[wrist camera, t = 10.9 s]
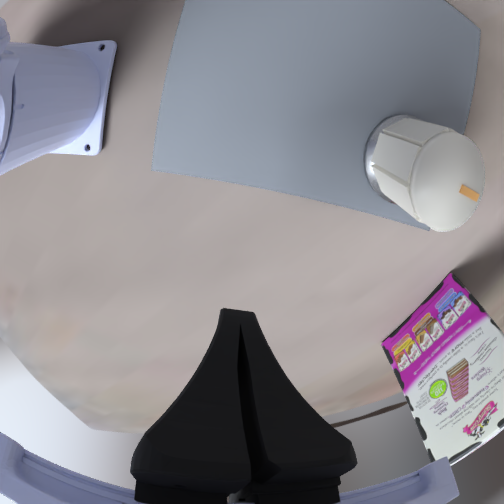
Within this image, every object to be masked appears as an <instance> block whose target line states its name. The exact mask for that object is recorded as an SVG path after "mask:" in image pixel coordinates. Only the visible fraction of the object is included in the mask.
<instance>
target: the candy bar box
mask: <svg viewBox="0 0 504 504" xmlns="http://www.w3.org/2000/svg"><path fill="white" fill-rule="evenodd" d="M381 345H382V348H383V349H384V352H385V354H386V356H387V358H388V360H389V362H390V364H391V367H392V369H393V371H394V373H395V375H396V377H397V380H398V382H399V384H400V386H401V388H402V391H403V393H404V395H405V397H406V400H407V402H408V404H409V406H410V409H411V412H412V414H413V416H414V419H415V421H416V424H417V426H418V429H419V432H420V434H421V437H422V439H423V442H424V444H425V447H426V449H427V452H428V455H429V458H430V461H431V463H432V462H434V461H436V460H439V459H441V458H443V457H445V456H446V457H448V460H449V463H450V466H451V465H453V464H454V463H456V462H457V461H459V460H461V459H463V458H464V457H466V456H467V455H469V454H470V453H472V452H474V451H475V450H476V449H478V448H479V447H481V446H482V445H484V444H485V443H486V442H488V441H489V440H490V439H492V438H493V437H494V436H496V435H497V434H498V433H499V432H501V431H502V430H503V429H504V334H503V332H502V331H501V330H500V328H499V327H498V326H497V325H496V323H495V322H494V321H493V319H492V318H491V317H490V316H489V314H488V313H487V312H486V311H485V310H484V308H483V307H482V306H481V305H480V304H479V302H478V301H477V300H476V299H475V298H474V297H473V295H472V294H471V293H470V292H469V291H468V290H467V289H466V287H465V286H464V285H463V284H462V283H461V282H460V281H459V279H458V278H457V277H456V276H455V275H454V274H452V273H450V274H448V275H447V277H446V278H445V279H444V280H443V281H442V282H441V283H440V285H439V286H438V287H437V288H436V289H435V290H434V291H433V292H432V294H431V295H430V296H429V297H428V298H427V299H426V300H425V301H424V302H423V303H422V304H421V305H420V306H419V308H418V309H417V310H416V311H415V312H414V313H413V314H412V315H411V316H410V317H409V318H408V319H407V320H406V321H405V322H404V323H403V324H402V325H401V326H400V327H399V328H398V329H397V330H396V331H395V332H393V333H392V334H391V335H390V336H389V337H388V338H387V339H386V340H385V341H384V342H383V343H382V344H381Z"/></svg>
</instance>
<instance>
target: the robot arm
mask: <svg viewBox="0 0 504 504" xmlns="http://www.w3.org/2000/svg"><path fill="white" fill-rule="evenodd" d="M9 41H10V34H9V32H8V31H7V25H6V22H5V20H4V19H2V18H1V17H0V175H2V174H4V173H6V172H8V171H10V170H12V169H14V168H16V167H18V166H20V165H22V164H24V163H26V162H29V161H31V160H33V159H35V158H37V157H40V156H42V155H44V154H47V153H62V154H81V155H97V154H98V153H100V151H101V149H102V139H103V128H104V119H105V111H106V103H107V96H108V90H109V84H110V78H111V73H112V67H113V63H114V58H115V53H116V49H117V44H116V42H115V41H112V40H105V41H94V42H85V43H78V44H71V45H65V46H59V47H54V46H47V45H39V44H30V43H19V42H9ZM103 45H105V48H104V50H102V51H101V47H102V46H103ZM88 144H89V145H90V151H89V150H88V149H87V145H88ZM356 465H357V458H356V454H355V451H354V448H353V446H352V443H351V441H350V440H349V439H347V438H346V437H345V436H343V435H342V434H341V433H339V432H338V431H337V430H335V429H334V428H333V427H332V426H331V425H330V424H328V423H327V422H326V421H325V420H324V419H323V418H322V417H321V416H320V415H319V414H318V413H317V412H316V411H315V410H314V409H313V408H312V407H311V406H310V405H309V404H308V403H307V401H306V400H305V399H304V398H303V397H302V396H301V394H300V393H299V392H298V391H297V390H296V388H295V387H294V386H293V384H292V383H291V381H290V380H289V379H288V377H287V376H286V374H285V373H284V371H283V370H282V368H281V366H280V365H279V363H278V362H277V360H276V358H275V356H274V354H273V353H272V351H271V349H270V347H269V345H268V343H267V341H266V339H265V337H264V335H263V333H262V330H261V328H260V326H259V323H258V321H257V318H256V315H255V314H254V312H249V311H241V310H234V309H227V308H223V309H221V310H220V315H219V321H218V326H217V329H216V332H215V334H214V337H213V339H212V341H211V344H210V346H209V348H208V350H207V352H206V354H205V356H204V358H203V360H202V361H201V363H200V365H199V367H198V368H197V370H196V372H195V373H194V375H193V376H192V378H191V379H190V381H189V382H188V384H187V385H186V387H185V388H184V389H183V391H182V392H181V393H180V395H179V396H178V397H177V399H176V400H175V401H174V402H173V403H172V405H171V406H170V407H169V408H168V409H167V410H166V412H165V413H164V414H163V415H162V416H161V417H160V418H159V419H158V420H157V421H156V422H155V423H154V424H153V425H152V426H151V427H150V428H149V429H148V430H147V431H146V432H145V434H144V436H143V437H142V439H141V441H140V442H139V444H138V446H137V448H136V449H135V451H134V454H133V457H132V461H131V469H130V472H131V474H132V475H133V477H134V478H135V479H136V487H135V490H131V489H127V488H123V487H120V486H116V485H112V484H109V483H105V482H102V481H99V480H96V479H93V478H90V477H87V476H84V475H81V474H79V473H76V472H74V471H71V470H68V469H66V468H64V467H61V466H59V465H57V464H54V463H52V462H50V461H47V460H45V459H43V458H41V457H39V456H37V455H35V454H33V453H31V452H29V451H27V450H25V449H24V448H23V447H22V446H21V445H20V444H19V443H17V442H16V441H14V440H12V439H11V438H9V437H8V436H6V435H5V434H3V433H1V432H0V493H1V494H3V495H4V496H6V497H7V498H9V499H10V500H12V501H13V502H15V503H16V504H446V503H448V502H449V501H451V500H452V499H454V498H456V497H457V496H459V491H458V488H457V485H456V482H455V478H454V475H453V472H452V469H451V466H450V463H449V460H448V457H446V456H445V457H443V458H441V459H439V460H436V461H434V462H432V463H430V464H428V465H426V466H424V467H422V468H421V469H419V470H418V471H416V472H413V473H410V474H408V475H405V476H402V477H399V478H396V479H393V480H390V481H386V482H383V483H380V484H377V485H373V486H369V487H365V488H361V489H357V490H353V491H349V492H344V493H339V491H338V485H340V484H341V481H340V476H341V475H343V474H345V473H347V472H348V471H350V470H352V469H353V468H354V467H355V466H356ZM228 496H229V503H227V497H228Z"/></svg>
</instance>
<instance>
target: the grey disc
mask: <svg viewBox="0 0 504 504" xmlns="http://www.w3.org/2000/svg"><path fill="white" fill-rule="evenodd" d="M404 118H408V119H409V118H411V119H416V120H420V121H423V120H421V119H420V118H417V117H415V116H411V115H406V114H397V115H392V116H390V117H387V118H385V119H384V120H382V121H381V122H380V123H379V124H377V126H376V127H375V128H374V129H373V130H372V132H371V133H370V135H369V137H368V139H367V142H366V145H365V149H364V156H363V164H364V171H365V175H366V178H367V180H368V182H369V184H370V186H371V187H372V189H373V190H374V191H375V192H376V193H377V194H378V195H379V196H380V197H381V198H383V199H384V200H386V201H387V202H390V203H392V204H396V203H395V202H394V201H392V200H391V199H390V198H388V197H387V196H386V195H384V193H383V192H381V189H380V187H379V184H378V182H377V179H376V177H375V174H374V172H373V169H372V167H371V166H372V165H373V164H375V163H373V162H371V159H372V156H373V153H374V150H375V147H376V144H377V141H378V137H379V134H380V133H382V134H384V132H383V129H384V128H386V127H388V126H390V125H392V124H394V123H396V122H398V121H400V120H402V119H404ZM396 205H397V204H396Z"/></svg>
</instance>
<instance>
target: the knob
mask: <svg viewBox="0 0 504 504" xmlns="http://www.w3.org/2000/svg"><path fill="white" fill-rule="evenodd" d="M383 132H384V134H382V133H380V134H379V137H378V141H377V144H376V147H375V150H374V153H373V156H372V159H371V162H373V163H375V164H373V165H372V166H371V167H372V169H373V172H374V174H375V177H376V179H377V182H378V184H379V187H380V189H381V192H383V193H384V195H386V196H387V197H388V198H390V199H391V200H392V201H394V202H395V203H396V204H397V205H399V206H400V207H401V208H402V209H404V210H405V211H406V212H407V213H408V214H410V215H411V216H412V217H413V218H414V219H416V220H417V221H418V222H421V223H424V224H426V225H427V226H428V227H430V228H431V229H433V230H436V231H440V232H446V231H451V230H454V229H456V228H458V227H460V226H461V225H462V224H464V223H465V222H466V221H467V220H468V219H469V218H470V217H471V216H472V214H473V213H474V211H475V210H476V208H477V206H478V204H479V202H480V200H481V197H482V193H483V189H484V184H485V167H484V162H483V158H482V155H481V153H480V151H479V149H478V147H477V146H476V144H475V143H474V142H473V141H472V140H471V139H470V138H468V137H466V136H464V135H462V134H459V133H457V132H456V131H454V130H453V129H451V128H448V127H444V126H441V125H437V124H433V123H429V122H425V121H420V120H416V119H411V118H409V119H408V118H404V119H402V120H400V121H398V122H396V123H394V124H392V125H390V126H388V127H386V128H384V129H383Z"/></svg>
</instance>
